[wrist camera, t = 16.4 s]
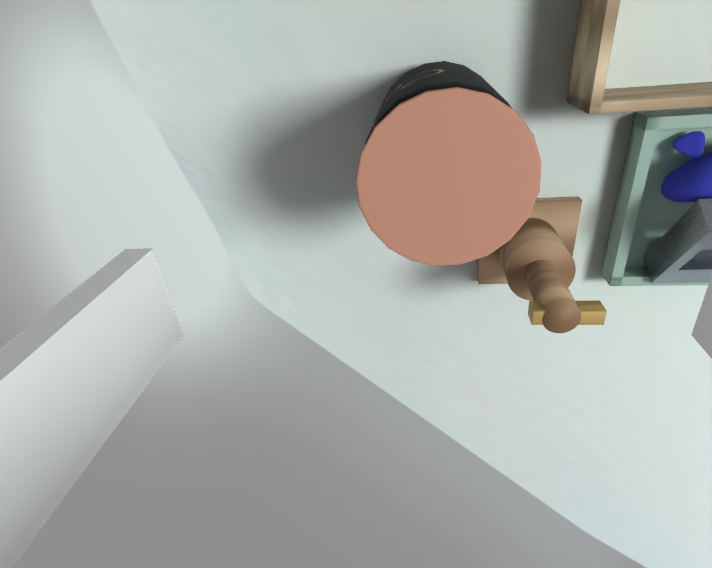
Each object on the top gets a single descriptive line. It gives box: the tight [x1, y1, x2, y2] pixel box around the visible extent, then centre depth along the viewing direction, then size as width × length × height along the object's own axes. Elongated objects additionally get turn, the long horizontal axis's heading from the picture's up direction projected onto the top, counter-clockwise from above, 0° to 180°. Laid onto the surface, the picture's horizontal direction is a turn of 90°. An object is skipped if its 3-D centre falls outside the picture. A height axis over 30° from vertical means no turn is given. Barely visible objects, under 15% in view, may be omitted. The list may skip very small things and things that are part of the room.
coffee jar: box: [356, 61, 541, 266], centre depth 34 cm, size 11×11×18 cm
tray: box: [601, 108, 712, 286], centre depth 41 cm, size 16×15×2 cm
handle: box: [478, 197, 607, 333], centre depth 40 cm, size 9×9×14 cm
